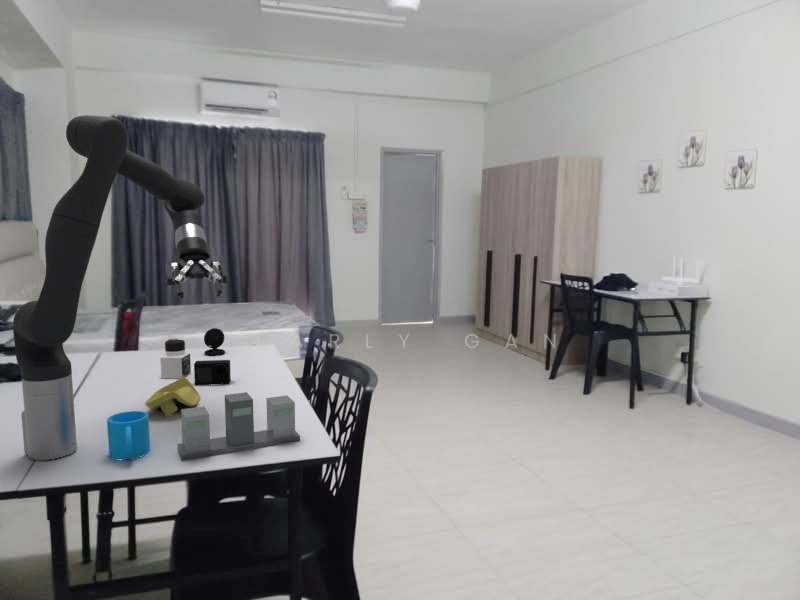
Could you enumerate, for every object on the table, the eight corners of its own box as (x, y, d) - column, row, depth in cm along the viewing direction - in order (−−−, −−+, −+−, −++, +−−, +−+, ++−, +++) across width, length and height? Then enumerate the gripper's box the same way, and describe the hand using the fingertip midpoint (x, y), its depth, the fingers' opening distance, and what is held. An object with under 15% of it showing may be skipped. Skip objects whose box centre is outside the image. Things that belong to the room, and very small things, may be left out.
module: (231, 446, 128) (230, 402, 127) (225, 437, 134) (224, 395, 133) (254, 442, 131) (253, 399, 129) (247, 433, 136) (246, 392, 135)
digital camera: (193, 386, 179) (192, 364, 178) (196, 382, 184) (195, 360, 183) (228, 385, 180) (228, 363, 179) (230, 380, 186) (230, 359, 185)
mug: (109, 449, 130) (107, 413, 128) (149, 443, 133) (147, 409, 132) (107, 470, 119) (105, 431, 118) (151, 463, 122) (149, 426, 121)
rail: (181, 460, 123) (179, 418, 122) (177, 449, 130) (175, 409, 128) (300, 440, 135) (299, 402, 134) (291, 430, 142) (290, 394, 140)
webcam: (220, 351, 228) (219, 325, 226) (228, 354, 222) (227, 328, 221) (201, 353, 223) (200, 328, 221) (208, 357, 217) (207, 330, 216)
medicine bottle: (182, 378, 187) (181, 342, 186) (160, 378, 187) (159, 342, 186) (191, 373, 194) (189, 337, 193) (170, 372, 194) (168, 337, 193)
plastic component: (156, 391, 166) (188, 374, 168) (168, 413, 167) (201, 396, 169) (140, 407, 147) (177, 388, 148) (154, 432, 148) (191, 413, 149)
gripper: (162, 235, 143) (169, 286, 134) (222, 235, 149) (232, 284, 141) (161, 256, 148) (168, 306, 140) (218, 255, 155) (229, 303, 146)
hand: (200, 295), depth 140 cm, fingers open, 8 cm apart
